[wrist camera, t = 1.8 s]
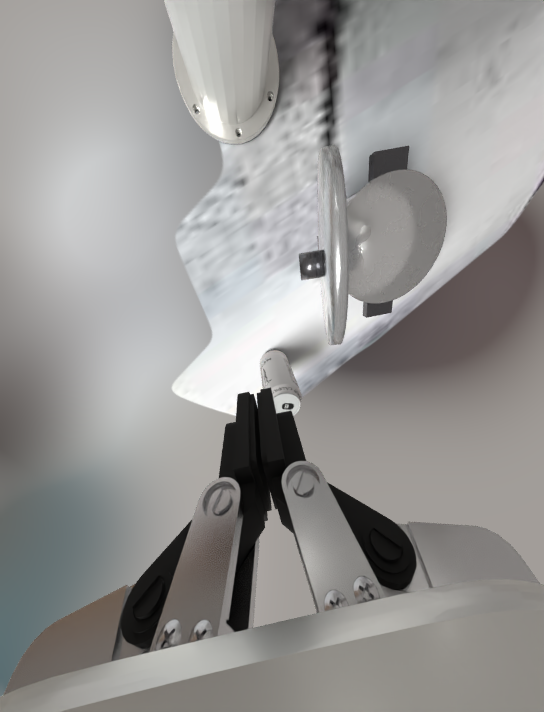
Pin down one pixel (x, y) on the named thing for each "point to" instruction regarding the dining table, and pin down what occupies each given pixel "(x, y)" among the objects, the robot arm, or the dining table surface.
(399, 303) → the dining table surface
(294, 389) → the energy drink can
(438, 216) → the pot
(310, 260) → the lid
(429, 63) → the dining table surface
